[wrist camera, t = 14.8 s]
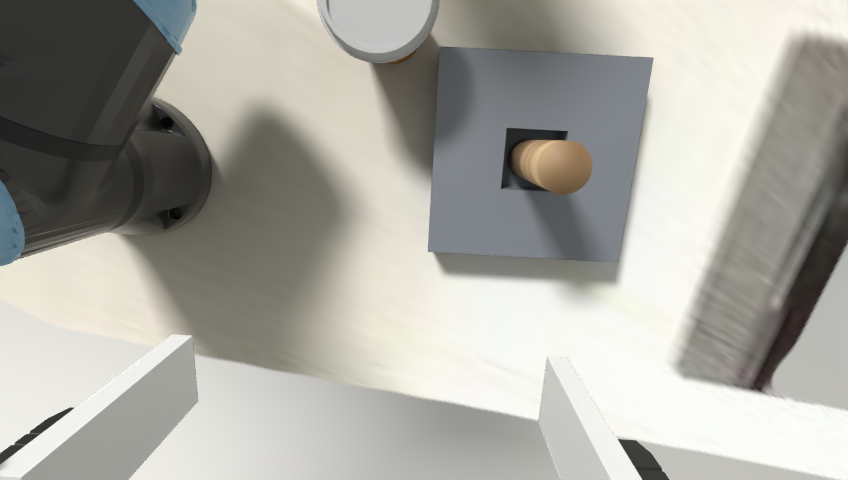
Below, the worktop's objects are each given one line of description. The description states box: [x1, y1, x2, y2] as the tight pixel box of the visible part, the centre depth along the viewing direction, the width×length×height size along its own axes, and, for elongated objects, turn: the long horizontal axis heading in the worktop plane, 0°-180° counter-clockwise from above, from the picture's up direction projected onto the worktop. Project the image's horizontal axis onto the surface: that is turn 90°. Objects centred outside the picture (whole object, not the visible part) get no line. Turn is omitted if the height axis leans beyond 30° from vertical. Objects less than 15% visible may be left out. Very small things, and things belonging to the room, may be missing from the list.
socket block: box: [428, 47, 653, 262], centre depth 43 cm, size 20×20×4 cm
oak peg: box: [507, 140, 593, 195], centre depth 38 cm, size 4×4×14 cm
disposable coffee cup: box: [317, 0, 439, 64], centre depth 37 cm, size 10×10×12 cm
